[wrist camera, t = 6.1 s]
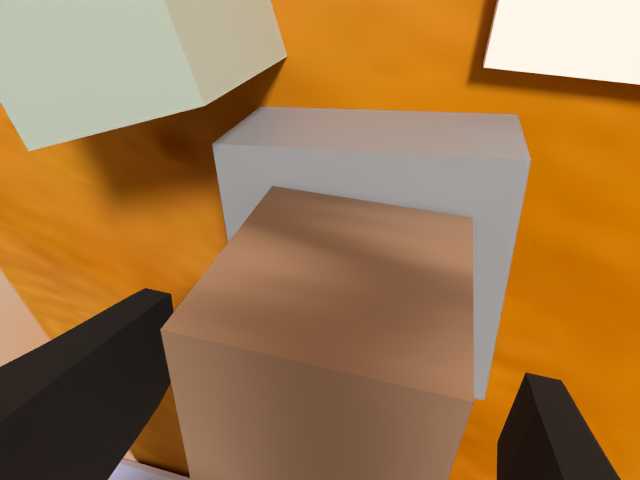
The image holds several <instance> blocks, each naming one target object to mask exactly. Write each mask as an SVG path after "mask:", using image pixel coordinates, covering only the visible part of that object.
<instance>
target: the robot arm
mask: <svg viewBox="0 0 640 480" xmlns="http://www.w3.org/2000/svg"><path fill="white" fill-rule="evenodd" d="M173 313H174V312H173V305H172V298H171V294H169V293H165V292H160V291H156V290H151V289H147V288H145V289H143V290H141V291H139V292H137V293H135V294H133V295H131V296H129V297H128V298H126V299H124V300H122V301H120V302H119V303H117V304H115V305H113V306H112V307H110V308H108V309H106V310H104V311H103V312H101V313H99V314H97V315H96V316H94V317H92V318H90V319H89V320H87V321H85V322H83V323H82V324H80V325H78V326H76V327H74V328H73V329H71V330H69V331H67V332H65V333H64V334H62V335H60V336H58V337H56V338H55V339H53V340H51V341H49V342H47V343H46V344H44V345H42V346H40V347H38V348H36V349H34V350H33V351H30V352H29V353H26V354H24V355H23V356H21V357H19V358H17V359H15V360H13V361H11V362H9V363H7V364H5V365H3V366H1V367H0V480H191V479H190V478H188V477H185V476H182V475H178V474H175V473H172V472H168V471H165V470H162V469H158V468H155V467H151V466H148V465H145V464H141V463H138V462H135V461H131V460H128V459H125V458H123V457H124V456H125V454H126V453H127V451H128V450H129V448H130V447H131V446H132V444H133V443H134V441H135V440H136V438H137V437H138V435H139V434H140V432H141V431H142V429H143V428H144V426H145V425H146V424H147V422H148V421H149V419H150V418H151V416H152V415H153V413H154V412H155V410H156V409H157V407H158V406H159V404H160V402H161V400H162V398H163V396H164V395H165V393H166V391H167V389H168V387H169V385H170V383H171V380H170V375H169V370H168V365H167V360H166V355H165V350H164V345H163V340H162V335H161V330H160V329H161V328H162V327H163V326H164V324H165V323H166V322H167V320H168V319H169V318H170V317H171V315H172V314H173ZM497 480H621V479H620V478H619V476H618V475H617V473H616V471H615V470H614V468H613V467H612V465H611V463H610V462H609V460H608V458H607V457H606V455H605V453H604V452H603V450H602V448H601V447H600V445H599V443H598V442H597V440H596V438H595V437H594V435H593V433H592V432H591V430H590V428H589V427H588V425H587V423H586V421H585V420H584V418H583V416H582V415H581V413H580V411H579V409H578V408H577V406H576V404H575V402H574V401H573V399H572V397H571V395H570V394H569V392H568V390H567V389H566V387H565V385H564V384H563V382H562V381H561V380H557V379H553V378H548V377H544V376H539V375H535V374H530V373H525V376H524V378H523V381H522V383H521V386H520V388H519V391H518V393H517V396H516V398H515V400H514V403H513V405H512V408H511V410H510V413H509V415H508V418H507V420H506V423H505V425H504V427H503V430H502V432H501V435H500V437H499V440H498V448H497Z"/></svg>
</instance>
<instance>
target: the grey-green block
mask: <svg viewBox="0 0 640 480" xmlns="http://www.w3.org/2000/svg"><path fill="white" fill-rule="evenodd" d="M286 57H287V54H286V50H285V47H284V44H283V40H282V37H281V34H280V30H279V27H278V24H277V20H276V17H275V14H274V10H273V7H272V3H271V0H0V102H1V104H2V106H3V108H4V109H5V111H6V113H7V115H8V116H9V118H10V120H11V122H12V123H13V125H14V127H15V128H16V130H17V132H18V134H19V135H20V137H21V139H22V141H23V142H24V144H25V146H26V147H27V149H28V151H32V150H36V149H40V148H43V147H47V146H51V145H55V144H59V143H63V142H67V141H71V140H75V139H78V138H82V137H86V136H90V135H94V134H98V133H102V132H106V131H110V130H113V129H117V128H121V127H125V126H129V125H133V124H137V123H141V122H145V121H148V120H152V119H156V118H160V117H164V116H168V115H172V114H176V113H180V112H183V111H187V110H191V109H195V108H199V107H203V106H206V105H207V104H209V103H211V102H212V101H214V100H216V99H217V98H219V97H221V96H222V95H224V94H226V93H227V92H229V91H231V90H232V89H234V88H236V87H237V86H239V85H241V84H242V83H244V82H246V81H247V80H249V79H251V78H252V77H254V76H256V75H257V74H259V73H261V72H262V71H264V70H266V69H267V68H269V67H271V66H272V65H274V64H276V63H277V62H279V61H281V60H282V59H284V58H286Z"/></svg>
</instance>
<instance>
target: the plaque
mask: <svg viewBox="0 0 640 480" xmlns="http://www.w3.org/2000/svg"><path fill="white" fill-rule="evenodd" d="M483 66H484V68H492V69H502V70H511V71H520V72H529V73H538V74H547V75H557V76H566V77H575V78H584V79H593V80H602V81H612V82H621V83H630V84H639V85H640V0H497V3H496V7H495V11H494V16H493V20H492V25H491V29H490V34H489V38H488V42H487V47H486V51H485V56H484V60H483Z"/></svg>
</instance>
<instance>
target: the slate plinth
mask: <svg viewBox="0 0 640 480" xmlns="http://www.w3.org/2000/svg"><path fill="white" fill-rule="evenodd" d="M212 147H213V153H214V159H215V165H216V171H217V177H218V183H219V189H220V195H221V202H222V208H223V214H224V220H225V226H226V232H227V238H228V242H229V241H230V240H231V238H232V237H233V236H234V234H235V233H236V232H237V231H238V229H239V228H240V227H241V225H242V224H243V223H244V222H245V220H246V219H247V218H248V216H249V215H250V214H251V213H252V211H253V210H254V209H255V207H256V206H257V205H258V204H259V202H260V201H261V200H262V198H263V197H264V196H265V195H266V193H267V192H268V191H269V189H270V188H271V187H272V186H277V187H283V188H289V189H296V190H302V191H308V192H314V193H321V194H327V195H333V196H340V197H346V198H352V199H359V200H365V201H371V202H377V203H384V204H390V205H396V206H403V207H409V208H415V209H422V210H428V211H434V212H440V213H447V214H453V215H459V216H466V217H472V218H473V321H474V399H480V400H484V399H485V394H486V389H487V384H488V378H489V373H490V368H491V363H492V358H493V353H494V348H495V343H496V337H497V332H498V327H499V322H500V317H501V312H502V307H503V302H504V296H505V291H506V286H507V281H508V276H509V271H510V266H511V261H512V255H513V250H514V245H515V240H516V235H517V230H518V225H519V219H520V214H521V209H522V204H523V199H524V194H525V189H526V184H527V178H528V173H529V168H530V163H531V158H530V155H529V152H528V148H527V145H526V142H525V138H524V135H523V132H522V128H521V125H520V122H519V118H518V115H517V114H494V113H461V112H428V111H395V110H361V109H328V108H295V107H262V106H260V107H259V108H258V109H257V110H255V111H254V112H253V113H251V114H250V115H249V116H247V117H246V118H245V119H244V120H242V121H241V122H240V123H238V124H237V125H236V126H234V127H233V128H232V129H231V130H229V131H228V132H227V133H225V134H224V135H223V136H221V137H220V138H219V139H218V140H216V141H215V142H214V143H212Z"/></svg>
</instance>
